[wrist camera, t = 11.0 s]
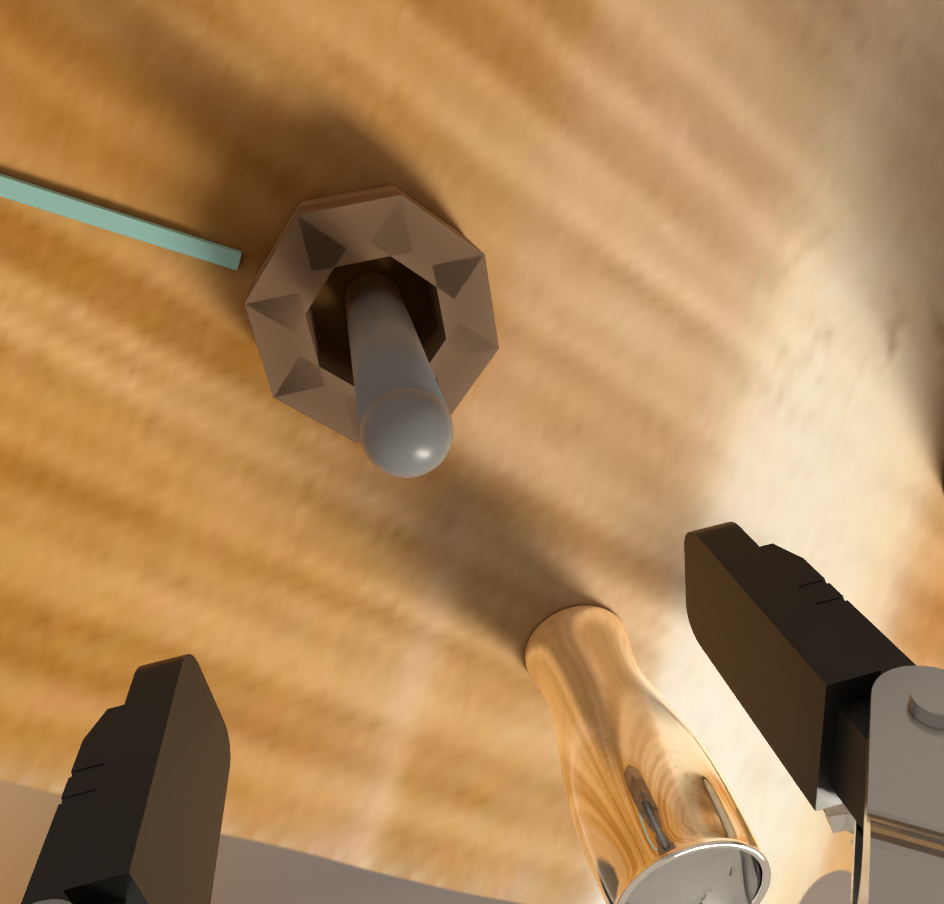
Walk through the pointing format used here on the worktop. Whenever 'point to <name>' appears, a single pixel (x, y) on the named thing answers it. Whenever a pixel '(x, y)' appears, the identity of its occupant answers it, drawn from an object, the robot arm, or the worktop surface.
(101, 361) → the worktop surface
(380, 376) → the grey rounded rod
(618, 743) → the beer glass
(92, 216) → the teal thin bar
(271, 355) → the bead
